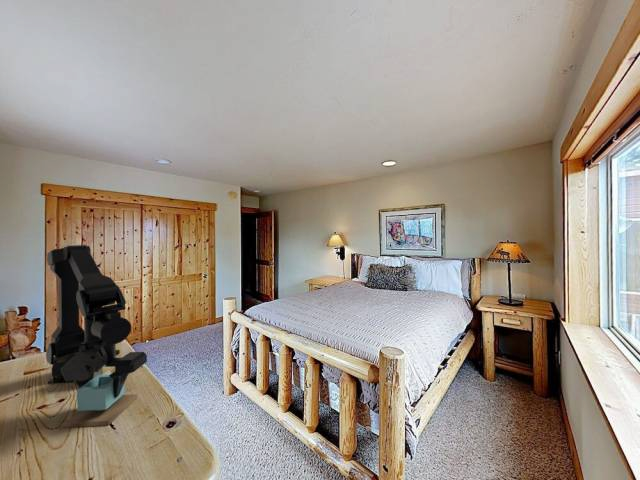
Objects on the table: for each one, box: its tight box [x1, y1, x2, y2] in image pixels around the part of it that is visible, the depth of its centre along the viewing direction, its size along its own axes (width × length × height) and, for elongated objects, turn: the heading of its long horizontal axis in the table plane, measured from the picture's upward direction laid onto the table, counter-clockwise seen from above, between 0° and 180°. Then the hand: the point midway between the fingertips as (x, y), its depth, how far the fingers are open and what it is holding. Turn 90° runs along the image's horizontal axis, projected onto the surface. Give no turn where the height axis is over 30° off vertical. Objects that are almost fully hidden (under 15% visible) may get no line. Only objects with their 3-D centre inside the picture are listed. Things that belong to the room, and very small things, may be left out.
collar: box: [76, 375, 126, 412], centre depth 65 cm, size 6×6×5 cm
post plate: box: [62, 385, 138, 428], centre depth 65 cm, size 10×10×6 cm
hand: (102, 397), depth 65 cm, fingers closed on collar, 6 cm apart
